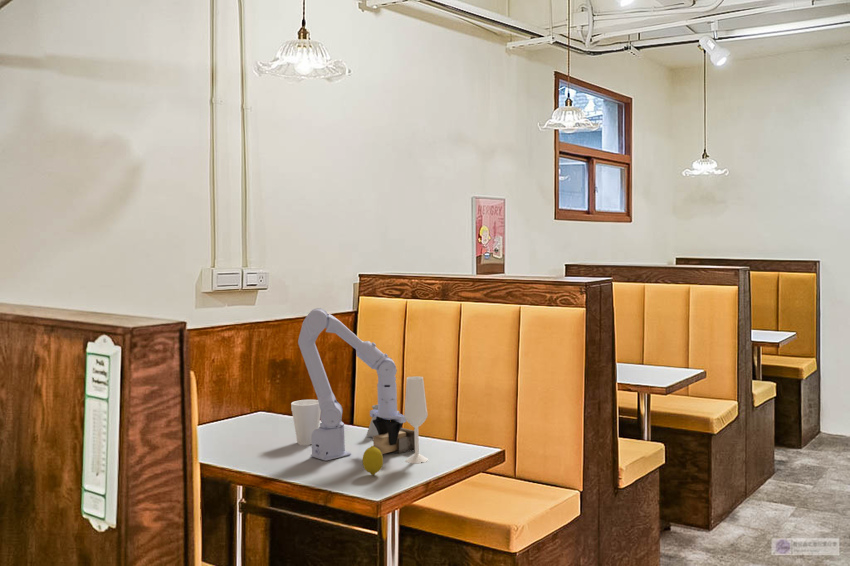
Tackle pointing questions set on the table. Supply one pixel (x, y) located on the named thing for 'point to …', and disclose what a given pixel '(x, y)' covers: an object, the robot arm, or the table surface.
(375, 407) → the flask
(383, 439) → the wooden block
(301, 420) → the foam cup
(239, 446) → the table surface
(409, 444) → the bracket
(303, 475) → the table surface
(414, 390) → the champagne flute
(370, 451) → the lemon
